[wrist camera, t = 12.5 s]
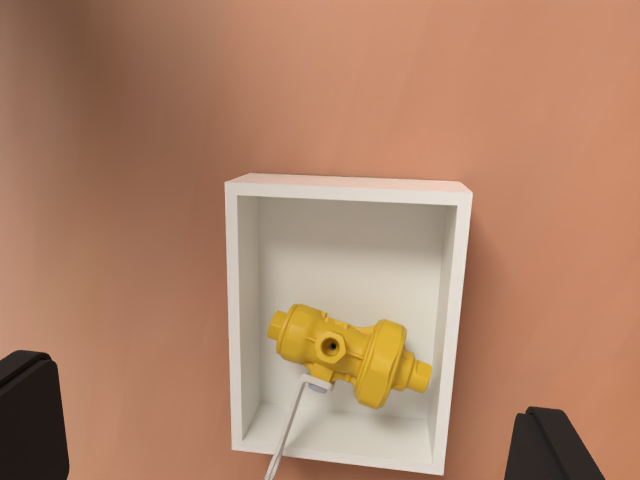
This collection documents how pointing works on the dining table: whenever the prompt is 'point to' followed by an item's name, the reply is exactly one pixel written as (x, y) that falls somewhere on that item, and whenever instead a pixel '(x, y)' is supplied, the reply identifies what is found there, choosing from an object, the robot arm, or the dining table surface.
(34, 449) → the robot arm
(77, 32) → the dining table surface
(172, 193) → the dining table surface
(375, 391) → the pressure relief valve
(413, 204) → the bin
